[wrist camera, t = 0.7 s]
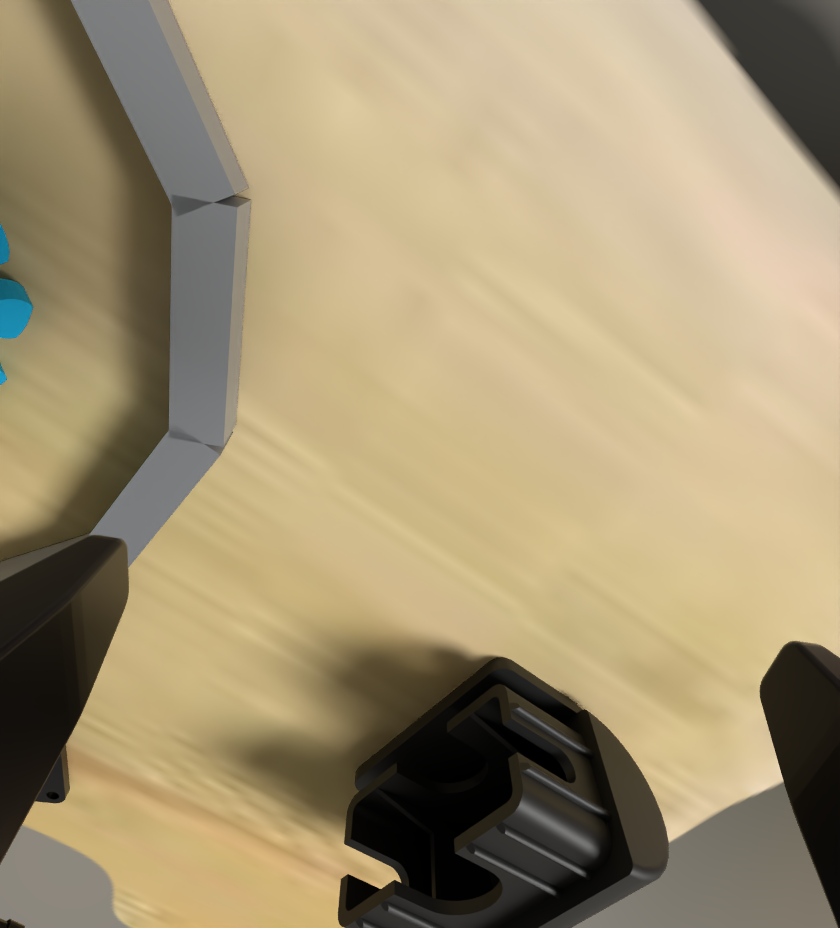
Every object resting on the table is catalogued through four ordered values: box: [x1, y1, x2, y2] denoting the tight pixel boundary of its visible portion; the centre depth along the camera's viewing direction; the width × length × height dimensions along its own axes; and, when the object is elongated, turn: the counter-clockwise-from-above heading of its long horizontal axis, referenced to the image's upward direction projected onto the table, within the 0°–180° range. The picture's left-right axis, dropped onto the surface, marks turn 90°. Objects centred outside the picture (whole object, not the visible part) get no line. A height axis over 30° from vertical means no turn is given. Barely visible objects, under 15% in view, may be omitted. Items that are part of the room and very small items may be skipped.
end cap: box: [338, 658, 669, 928], centre depth 24 cm, size 10×7×7 cm
